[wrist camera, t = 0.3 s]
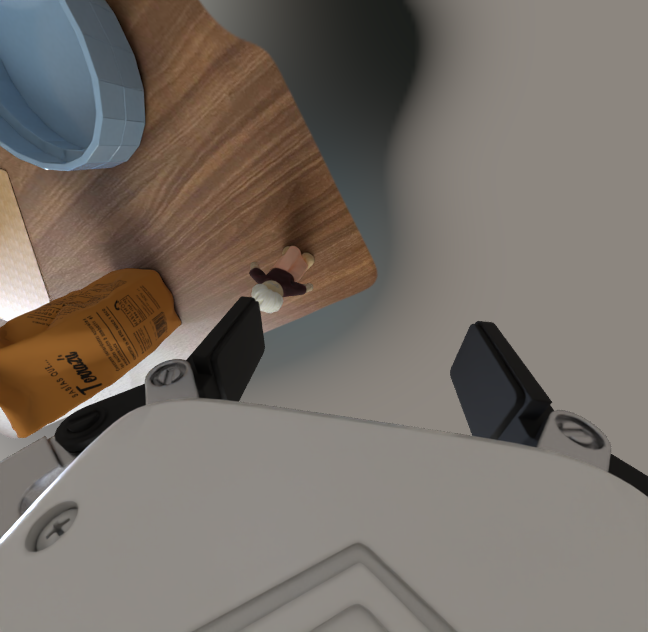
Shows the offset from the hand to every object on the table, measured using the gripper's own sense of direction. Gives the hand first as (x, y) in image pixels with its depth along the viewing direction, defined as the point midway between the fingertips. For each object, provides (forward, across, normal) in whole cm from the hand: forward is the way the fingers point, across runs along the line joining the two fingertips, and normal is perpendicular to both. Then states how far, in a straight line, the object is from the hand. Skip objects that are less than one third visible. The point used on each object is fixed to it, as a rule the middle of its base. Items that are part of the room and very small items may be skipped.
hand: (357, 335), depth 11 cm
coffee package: (+23, +34, +15) cm, 44 cm away
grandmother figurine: (+23, +9, +6) cm, 25 cm away
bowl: (+23, +33, -13) cm, 42 cm away
